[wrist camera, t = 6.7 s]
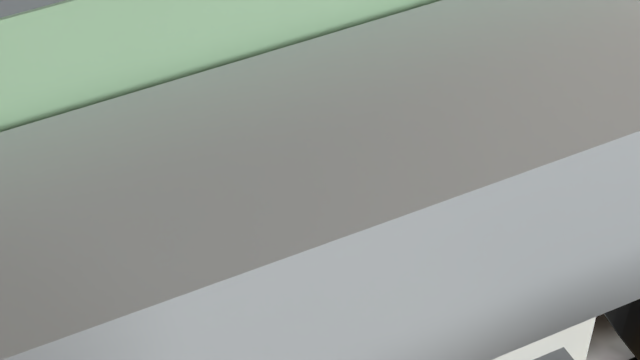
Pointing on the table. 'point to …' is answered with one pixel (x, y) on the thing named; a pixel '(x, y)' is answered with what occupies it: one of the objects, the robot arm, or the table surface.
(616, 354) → the table surface
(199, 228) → the grey rectangular block
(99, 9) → the breaker box
